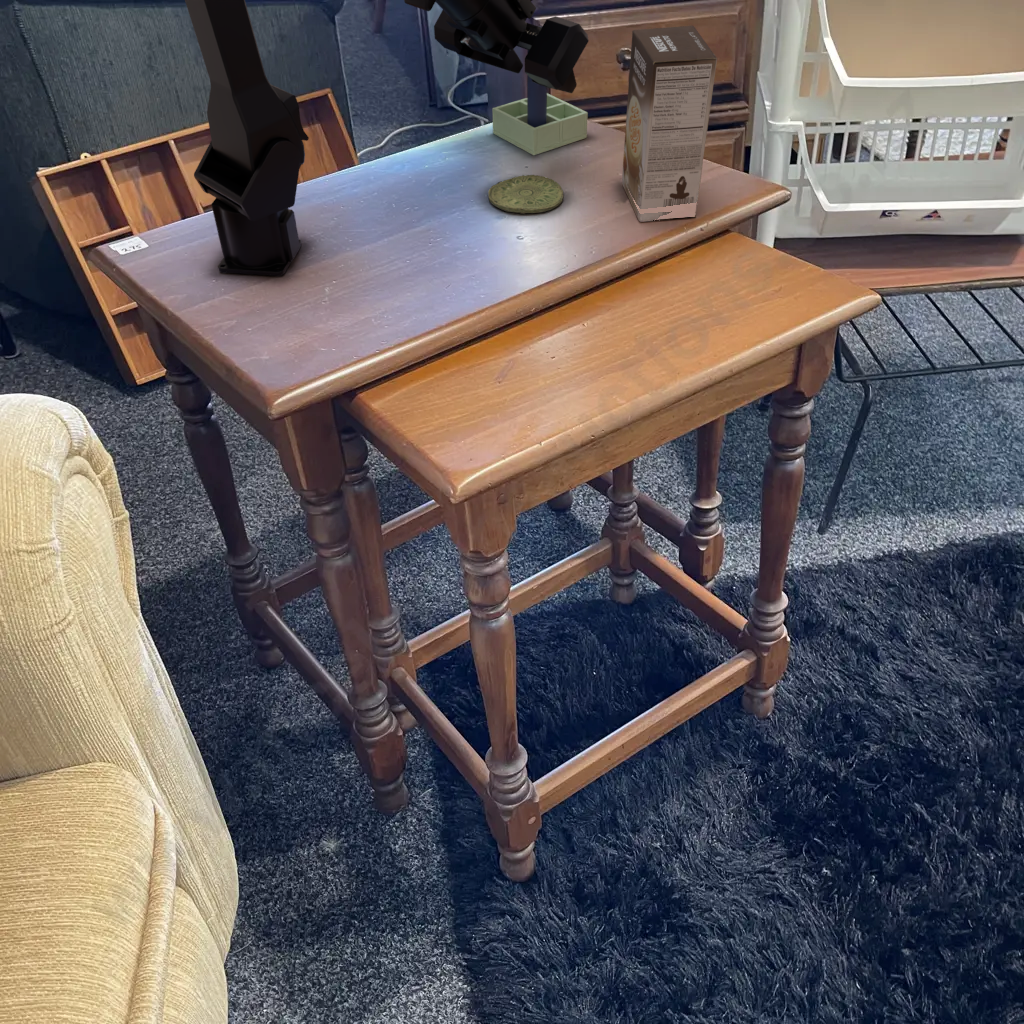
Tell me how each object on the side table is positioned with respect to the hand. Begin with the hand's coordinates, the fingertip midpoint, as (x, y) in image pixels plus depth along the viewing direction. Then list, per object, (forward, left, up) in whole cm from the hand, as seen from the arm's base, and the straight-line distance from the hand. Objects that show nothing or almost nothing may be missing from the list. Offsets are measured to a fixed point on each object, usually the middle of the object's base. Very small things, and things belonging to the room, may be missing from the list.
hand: (546, 78), depth 111 cm
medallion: (0, -15, -7) cm, 16 cm away
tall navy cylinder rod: (-1, -1, -6) cm, 7 cm away
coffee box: (+14, -14, -7) cm, 21 cm away
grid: (-1, +1, -7) cm, 7 cm away
